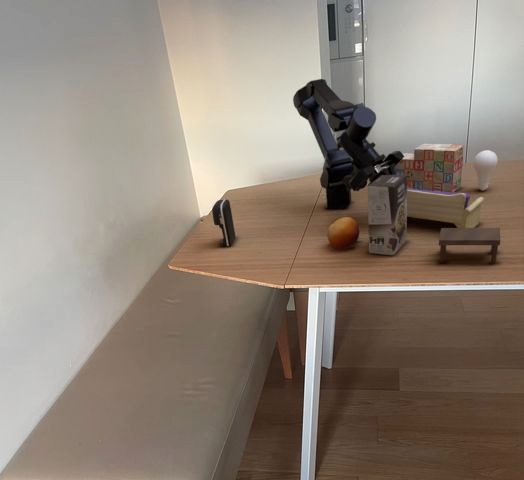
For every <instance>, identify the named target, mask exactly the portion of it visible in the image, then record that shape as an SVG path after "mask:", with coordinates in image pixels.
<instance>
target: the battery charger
mask: <svg viewBox="0 0 524 480" xmlns="http://www.w3.org/2000/svg"><path fill="white" fill-rule="evenodd" d="M230 202H231V201H230V200H229V199H226V198H224V199H219V200H217V201H216V202H215V203H214V204H213V205H212V209H211V213H212V220H213V225H215V226H218V227H219V229H221V233H222V237H223V238H222V240H221V242H220V246H221V247H231V246H232V245H233V243H234V241H235V239H236V237H237V236H236V231H235V225H234V220H233V212H232V207H231V203H230Z"/></svg>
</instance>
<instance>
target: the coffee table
mask: <svg viewBox="0 0 524 480" xmlns="http://www.w3.org/2000/svg"><path fill="white" fill-rule="evenodd" d="M438 238H439V239H438V246H439V247H440V248H439V263H440V264H444V263H445V262H446V261H445V258H446V253H447V246H490V254H491V259H490V264H492V265H494V264H497V258H498V257H497V256H498V249H499V246H501V227H475V228H457V227H441V228H440V233H439V237H438Z"/></svg>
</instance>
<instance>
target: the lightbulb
mask: <svg viewBox="0 0 524 480" xmlns="http://www.w3.org/2000/svg"><path fill="white" fill-rule="evenodd" d="M498 161H499V160H498V156H497V154H496V153H495V152H494V151H492V150H487V149H485V150H482V151H480V152H478V153H477V154H476V156H475V157H474V160H473V168H474V170H475V172H476V175H477V182H478V186H477V187H478V188H477V189H479V190H480V191H485V190H487V189H488V188H489V183H490V180H491V177H492V173H493V171H494V170H495V168H496V167H497V165H498Z"/></svg>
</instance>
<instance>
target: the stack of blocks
mask: <svg viewBox="0 0 524 480" xmlns="http://www.w3.org/2000/svg"><path fill="white" fill-rule="evenodd" d="M464 148H465V145H464V144H463V145H462V144H453V143H443V144H442V143H422V144H420V145H419V146H417V147H415V148H414V150H413V153H405V152H404V153H403V152H401V153H402V154H403V155H404V158H403V159H402V160H401V161H400V162H399V163H398V164H397V165H396V167H395V174H396V175H407V188H412V189H418V190H425V191H439V192H449V193H456V192H457V191H458V190H460V189H461V188H462V187H461V185H462V173H463V165H464V164H463V163H464V162H463V161H464V151H465V149H464Z"/></svg>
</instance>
